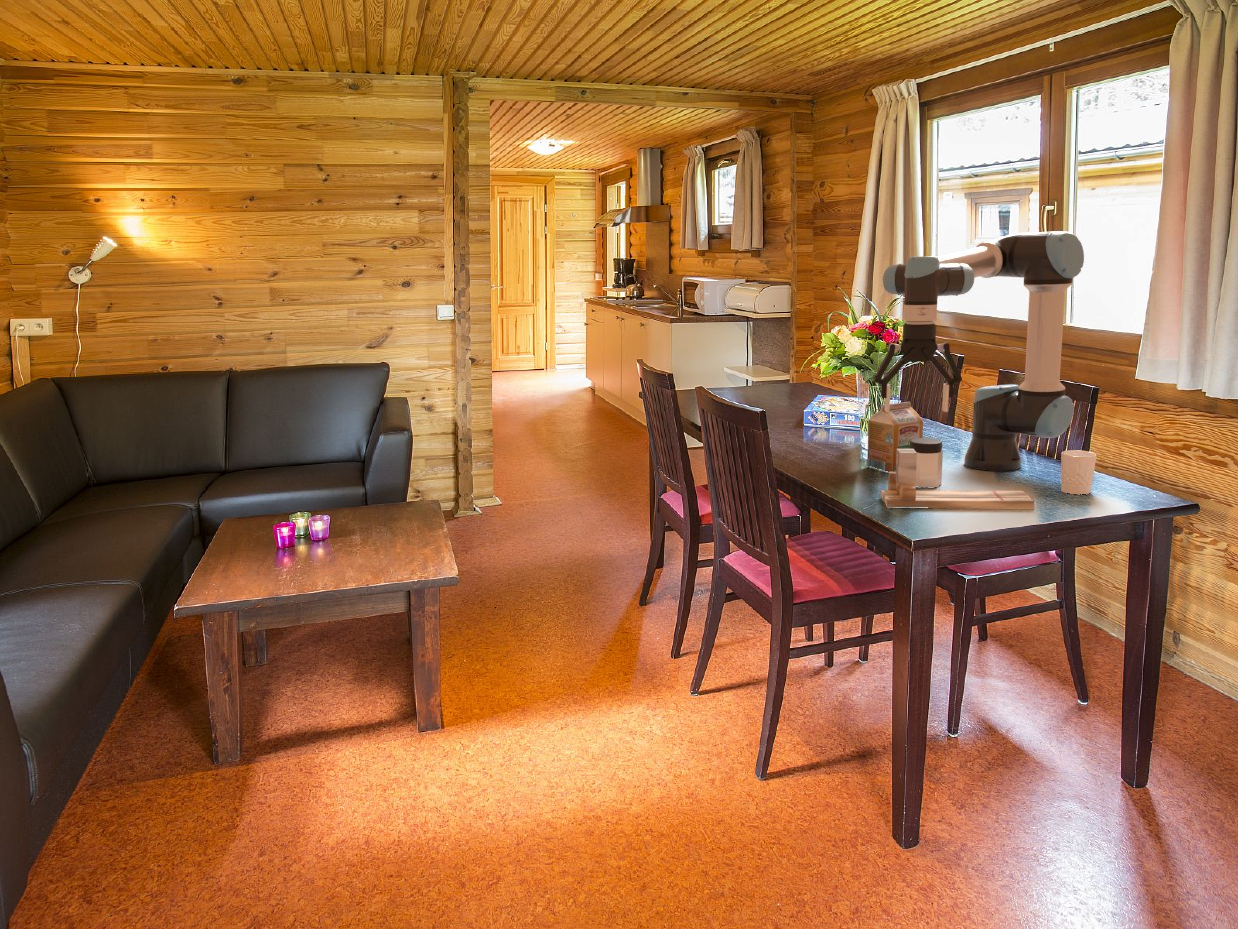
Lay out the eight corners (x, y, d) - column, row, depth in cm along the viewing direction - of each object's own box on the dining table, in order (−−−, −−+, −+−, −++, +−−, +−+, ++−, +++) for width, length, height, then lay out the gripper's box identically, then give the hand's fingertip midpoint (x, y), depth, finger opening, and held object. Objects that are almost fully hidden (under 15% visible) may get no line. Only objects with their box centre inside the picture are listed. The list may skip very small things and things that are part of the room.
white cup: (1097, 496, 232) (1100, 456, 229) (1063, 495, 233) (1066, 456, 231) (1088, 488, 239) (1091, 450, 237) (1055, 487, 241) (1058, 450, 238)
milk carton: (895, 463, 274) (897, 399, 270) (921, 470, 264) (923, 404, 260) (867, 467, 269) (869, 402, 265) (892, 474, 260) (894, 407, 256)
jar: (948, 486, 246) (950, 441, 243) (924, 490, 242) (926, 445, 240) (923, 479, 253) (925, 436, 251) (900, 483, 250) (902, 439, 247)
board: (881, 498, 236) (881, 490, 236) (1021, 498, 231) (1022, 490, 231) (886, 508, 226) (887, 500, 226) (1033, 509, 222) (1034, 500, 221)
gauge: (887, 494, 238) (889, 444, 235) (912, 494, 237) (914, 444, 234) (896, 508, 225) (897, 456, 222) (921, 508, 224) (923, 455, 221)
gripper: (868, 324, 218) (865, 414, 223) (978, 322, 215) (973, 413, 220) (863, 322, 225) (861, 409, 230) (970, 320, 222) (965, 408, 227)
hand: (915, 411), depth 225 cm, fingers open, 13 cm apart
